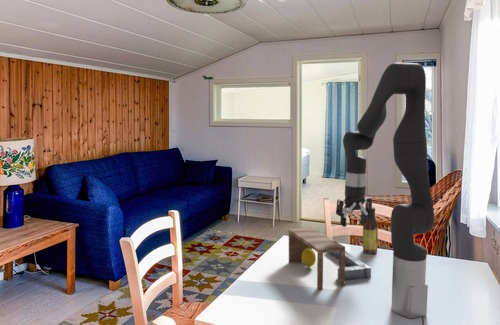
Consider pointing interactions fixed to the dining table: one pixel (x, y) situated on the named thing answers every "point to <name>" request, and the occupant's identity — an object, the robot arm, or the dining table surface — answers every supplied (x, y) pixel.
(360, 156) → the robot arm
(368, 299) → the dining table surface
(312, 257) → the lemon
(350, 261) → the crook tool
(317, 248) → the small wooden stool
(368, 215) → the sauce bottle
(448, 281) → the dining table surface
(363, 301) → the dining table surface
